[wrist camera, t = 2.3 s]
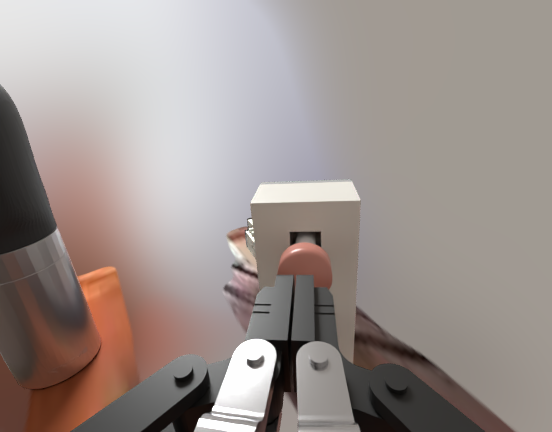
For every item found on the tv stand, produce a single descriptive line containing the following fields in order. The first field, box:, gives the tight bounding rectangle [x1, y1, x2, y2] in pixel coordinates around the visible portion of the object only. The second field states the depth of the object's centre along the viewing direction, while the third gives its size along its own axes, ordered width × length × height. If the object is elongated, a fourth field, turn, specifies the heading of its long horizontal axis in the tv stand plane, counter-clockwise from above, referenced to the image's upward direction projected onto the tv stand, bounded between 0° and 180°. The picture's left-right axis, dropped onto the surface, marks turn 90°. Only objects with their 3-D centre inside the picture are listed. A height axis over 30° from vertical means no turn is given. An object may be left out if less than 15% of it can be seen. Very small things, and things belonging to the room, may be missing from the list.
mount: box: [250, 179, 361, 364], centre depth 34 cm, size 10×7×20 cm
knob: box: [277, 231, 332, 289], centre depth 27 cm, size 4×8×4 cm, turn 174°
